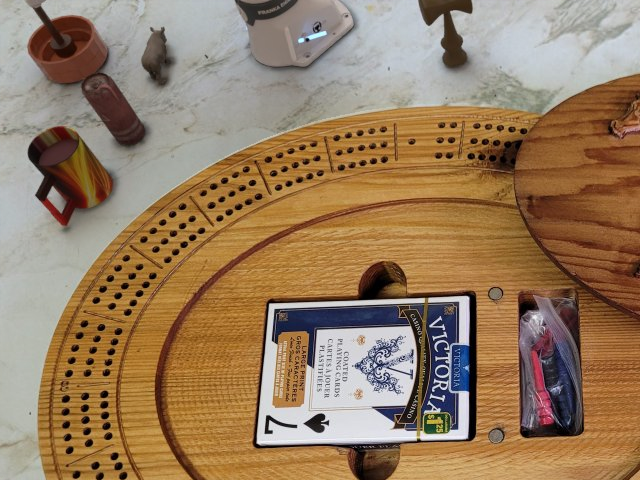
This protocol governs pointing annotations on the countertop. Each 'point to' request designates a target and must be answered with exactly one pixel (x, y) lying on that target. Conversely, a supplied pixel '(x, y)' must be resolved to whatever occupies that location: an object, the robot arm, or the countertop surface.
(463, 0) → the kendama
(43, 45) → the bowl
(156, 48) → the rhino figurine
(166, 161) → the countertop surface
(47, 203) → the mug
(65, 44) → the disc-capped wooden dowel
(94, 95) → the can
